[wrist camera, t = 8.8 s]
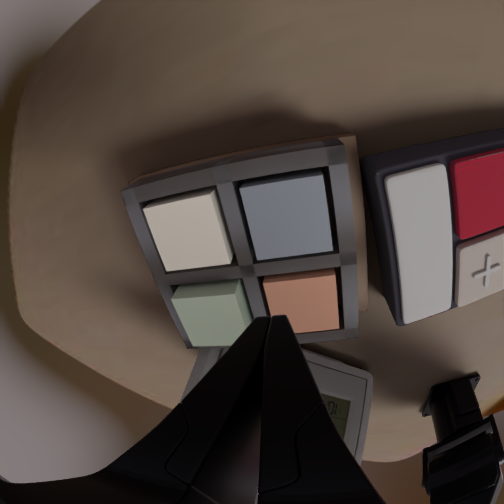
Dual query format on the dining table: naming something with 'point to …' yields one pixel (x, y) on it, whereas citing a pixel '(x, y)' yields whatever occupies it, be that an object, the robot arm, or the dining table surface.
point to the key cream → (190, 229)
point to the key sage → (213, 311)
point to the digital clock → (331, 387)
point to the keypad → (244, 260)
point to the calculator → (438, 222)
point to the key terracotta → (304, 299)
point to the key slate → (287, 213)
